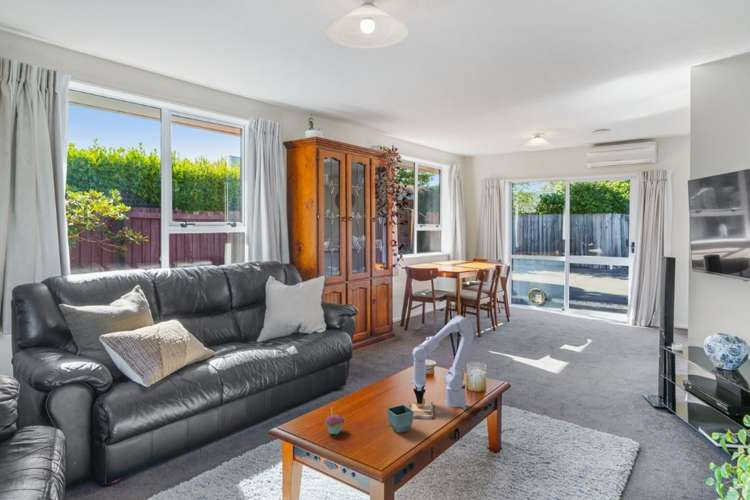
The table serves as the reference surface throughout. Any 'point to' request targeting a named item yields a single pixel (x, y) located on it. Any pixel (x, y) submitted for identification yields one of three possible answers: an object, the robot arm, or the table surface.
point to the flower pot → (400, 418)
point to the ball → (420, 404)
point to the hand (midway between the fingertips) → (419, 400)
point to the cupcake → (334, 423)
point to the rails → (423, 415)
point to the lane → (425, 408)
